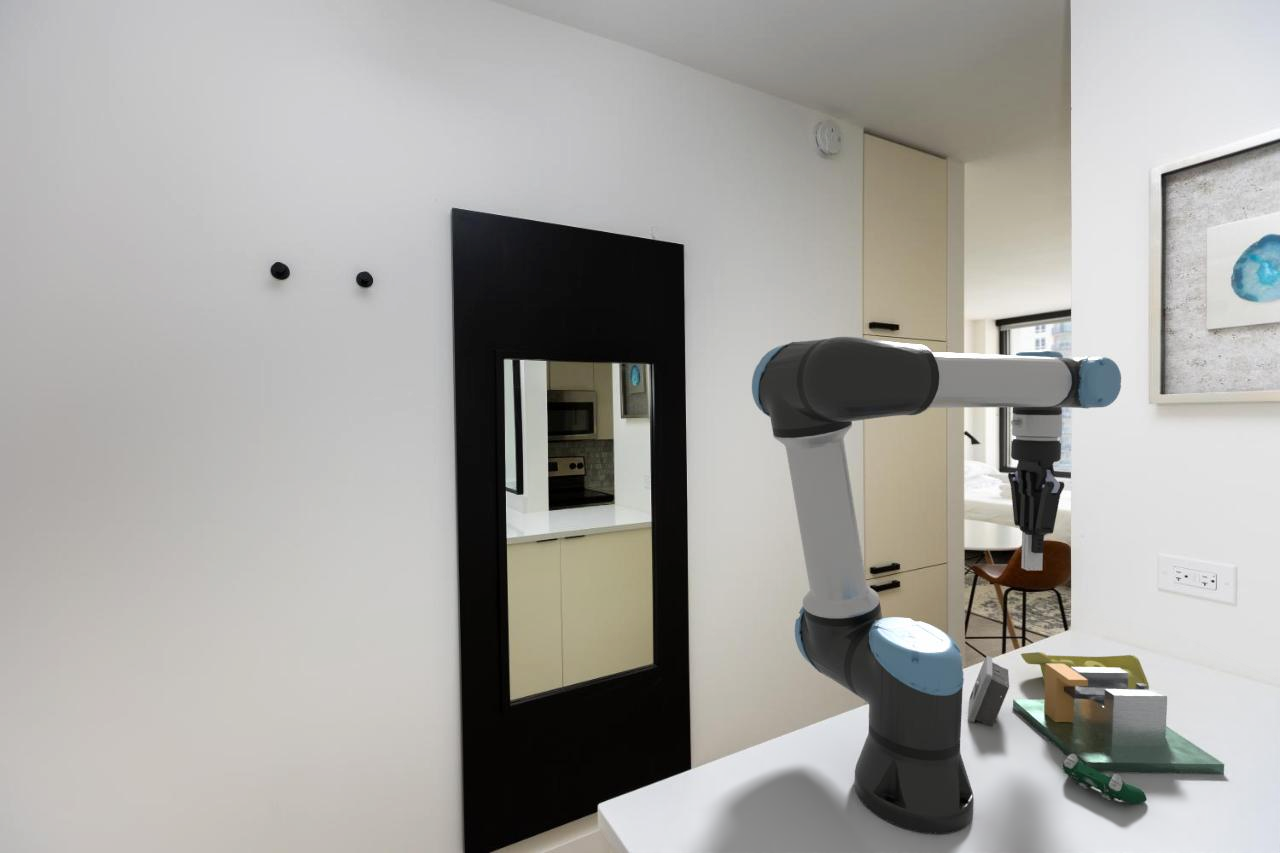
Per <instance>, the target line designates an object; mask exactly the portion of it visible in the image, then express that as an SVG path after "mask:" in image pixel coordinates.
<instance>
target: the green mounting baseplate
mask: <svg viewBox="0 0 1280 853" xmlns="http://www.w3.org/2000/svg"><path fill="white" fill-rule="evenodd" d="M1071 669H1072V670H1074V671H1075V672H1077V673H1078V674H1080V675H1081V676H1083V677H1084V678H1086V679H1087V680H1088V686H1075V687H1097V688H1128V672H1126V671H1124V670H1123V669H1121V668H1119V667H1071ZM1143 688H1146V689H1147V685H1145V684H1144V683H1136V689H1143ZM1044 700H1045V699H1017V698H1016V699H1013V700H1012V708H1013V709H1014V710H1015V709H1016V710H1017V711H1018V713H1019V714H1020V716H1022V717H1023V718H1024V719H1025V720H1026V719H1027V722H1028V723H1030V725H1032V726H1033V725H1034V726H1035V727H1036V729H1037V730H1038V731H1039V732H1040V734H1042V735H1043V736H1044V737H1045V738H1047V739H1048V740H1049V741H1050V742H1051V743H1052V744H1054V746H1055V747H1057V748H1058V749H1059V750H1060V751H1061V752H1062V753H1063V754H1065V756H1067V757H1068V756H1069V755H1070V754H1075V755H1076V756H1077V758H1078V759H1079V760H1080V761H1082V762H1083V764H1084V765H1086V766H1088V767H1090V768H1092V769H1094V770H1096V771H1099V772H1101V773H1129V774H1131V773H1136V774H1138V773H1139V774H1140V773H1141V774H1147V773H1148V774H1198V775H1199V774H1202V775H1203V774H1205V775H1224V774H1225V763H1223V762H1222V761H1221V760H1219V759H1217V758H1215V757H1214V756H1213V755H1211V754H1209V753H1208V752H1207V751H1205V750H1203V749H1202V748H1200V747H1199V746H1197V745H1196V744H1194V743H1193V742H1191V741H1190V740H1188V739H1187V738H1186V737H1184V736H1183V735H1180V734H1179V733H1178V732H1177V731H1174V730H1173V729H1171V728H1170V727H1169V726H1167V712H1168V711H1167V710H1168V709H1167V707H1168V695H1166V694H1165V693H1163V692H1162V691H1160V690H1158V689H1149V690H1130V689H1105V697H1104V700H1102V699H1074V722H1055V721H1053V720H1052V719H1051V718H1050V717H1049V716H1047V715H1046V714H1045V713H1044ZM1016 710H1015V711H1016ZM1017 711H1016V712H1017ZM1034 726H1033V727H1034ZM1035 727H1034V728H1035Z"/></svg>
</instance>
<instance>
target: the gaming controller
mask: <svg viewBox="0 0 1280 853" xmlns="http://www.w3.org/2000/svg"><path fill="white" fill-rule="evenodd" d="M1062 770H1063V773H1064V774H1067V775H1068V776H1069V777H1070V778H1072V779H1073V778H1074V779H1077V782H1078V785H1079V787H1082V788H1084V789H1085V790H1087V789H1088V788H1091V787H1093V788H1094V789H1096V790H1099V791H1100V793H1101V797H1102V798H1103V799H1106V800H1108V801H1112V800H1117V801H1122V802H1123V803H1127V804H1128V803H1129V804H1134V805H1136V804H1142V803H1145V802H1146V801H1147V799H1148V798H1147V796H1146V793H1145V792H1144V791H1143V789H1141V788H1139V787H1137V786H1135V785H1132V784H1129V783H1127V782H1125V781H1124V780H1123V779H1122V777H1121V776H1120V775H1119V774H1118V773H1114V774H1113V775H1112V776H1109V775H1107V774H1104V772H1099V771H1096V770H1094V769H1092V768H1090V767H1088V766H1086V765H1084V764H1083V762H1082V761H1080V760H1079V759H1078V758H1077V756H1076V755H1075V754H1070V755H1069V756H1067V757H1066V758H1065V759H1064V760H1063V762H1062Z"/></svg>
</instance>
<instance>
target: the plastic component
mask: <svg viewBox="0 0 1280 853" xmlns="http://www.w3.org/2000/svg"><path fill="white" fill-rule="evenodd" d="M1020 656H1021V658H1022V659H1023V661H1024V662H1025V663H1026V664H1028V665H1039V666H1040V671H1041V675H1042V679H1043V682H1044V685H1045V671H1046V664H1065V665H1066V666H1068V667H1069V668H1071V667H1119V668H1121V669H1123V670H1124V671H1126V672H1128V688H1130V689H1136V683H1144V684H1145V685H1147V689H1148V690H1150V686H1149V682H1148V680H1147V676H1146V675H1145V672H1144V669H1143V667H1142V664H1141V662H1140V659H1139V658H1138V657H1137V656H1135V655H1133V654H1127V655H1111V656H1084V655H1083V656H1082V655H1081V656H1080V655H1075V656H1074V655H1073V656H1072V655H1049V654H1048V655H1047V654H1046V653H1044V652H1040V651H1039V652H1038V651H1037V652H1026V653H1025V652H1024V653H1021V654H1020Z"/></svg>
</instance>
